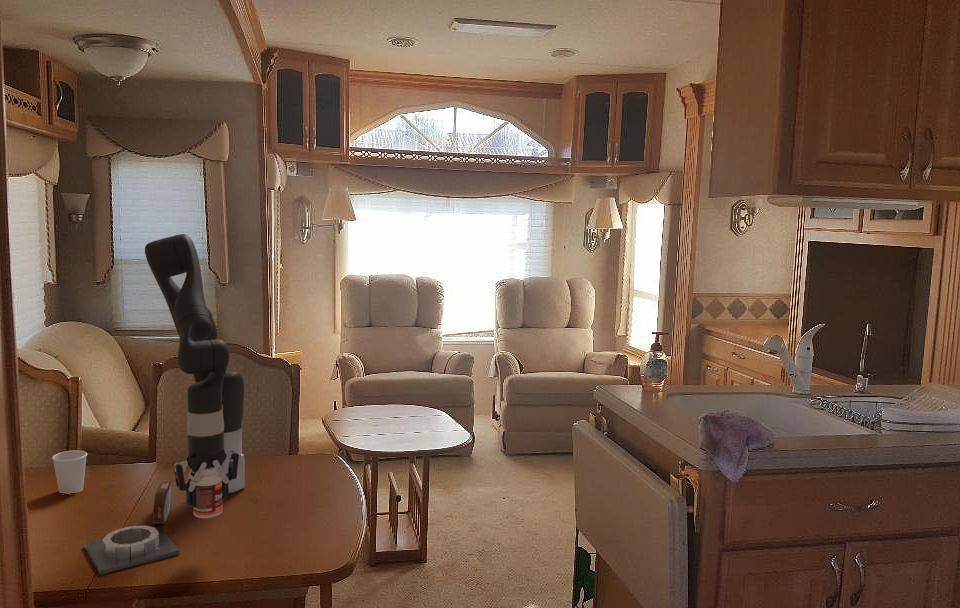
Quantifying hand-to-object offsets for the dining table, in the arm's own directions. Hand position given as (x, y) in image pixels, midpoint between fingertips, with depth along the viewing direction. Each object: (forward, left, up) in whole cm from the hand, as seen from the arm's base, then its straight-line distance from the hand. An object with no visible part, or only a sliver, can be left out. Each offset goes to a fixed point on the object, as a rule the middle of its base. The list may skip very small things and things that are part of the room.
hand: (207, 501), depth 162 cm
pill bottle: (0, 0, -3) cm, 3 cm away
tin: (+3, -26, -12) cm, 29 cm away
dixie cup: (+18, -58, -12) cm, 62 cm away
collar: (+14, -11, -12) cm, 21 cm away
